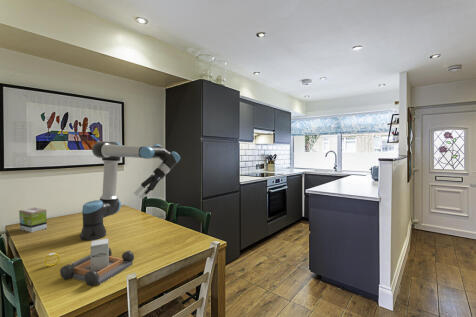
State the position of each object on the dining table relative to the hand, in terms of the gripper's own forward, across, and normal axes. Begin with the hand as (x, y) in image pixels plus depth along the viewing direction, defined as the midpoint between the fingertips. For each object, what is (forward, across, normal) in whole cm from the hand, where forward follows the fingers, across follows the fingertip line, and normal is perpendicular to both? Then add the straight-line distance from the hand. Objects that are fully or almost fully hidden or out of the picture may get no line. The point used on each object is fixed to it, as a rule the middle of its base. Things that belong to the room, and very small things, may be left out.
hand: (137, 196), depth 144 cm
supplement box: (+36, -25, -4) cm, 44 cm away
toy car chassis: (+38, -24, -4) cm, 45 cm away
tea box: (+61, +72, +19) cm, 96 cm away
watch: (+51, -4, +9) cm, 52 cm away
